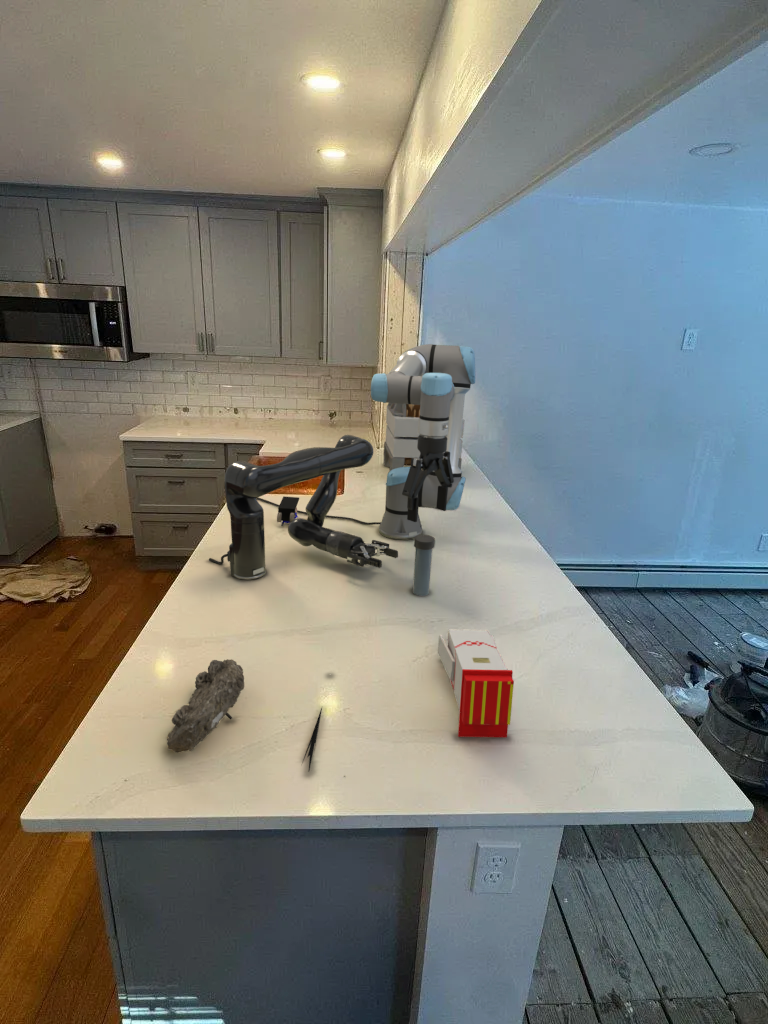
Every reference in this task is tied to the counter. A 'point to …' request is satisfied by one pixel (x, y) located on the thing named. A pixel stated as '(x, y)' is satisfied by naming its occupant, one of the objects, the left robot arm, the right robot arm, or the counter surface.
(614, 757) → the counter surface
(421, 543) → the lid
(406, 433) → the grey slatted wooden crate
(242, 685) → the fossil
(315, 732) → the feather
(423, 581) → the grey cylinder
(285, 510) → the figurine character
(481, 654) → the toy
